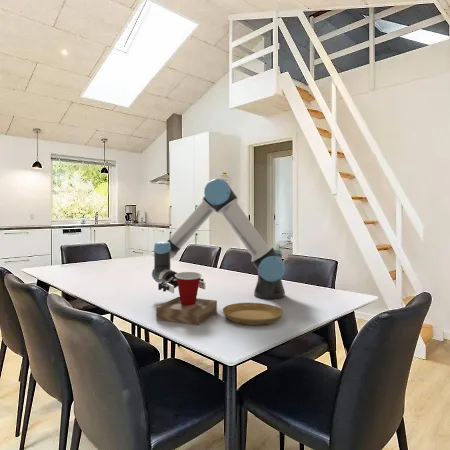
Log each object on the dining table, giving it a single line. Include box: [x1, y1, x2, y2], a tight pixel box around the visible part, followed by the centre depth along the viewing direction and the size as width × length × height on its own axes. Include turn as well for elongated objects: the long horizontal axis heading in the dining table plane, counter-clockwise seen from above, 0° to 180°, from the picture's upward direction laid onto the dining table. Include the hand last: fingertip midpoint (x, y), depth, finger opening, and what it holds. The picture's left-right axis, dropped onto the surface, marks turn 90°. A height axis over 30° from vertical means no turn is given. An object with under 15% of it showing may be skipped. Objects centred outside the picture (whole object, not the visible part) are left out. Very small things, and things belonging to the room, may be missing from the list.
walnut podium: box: [155, 296, 218, 326], centre depth 148 cm, size 18×18×5 cm
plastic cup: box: [175, 271, 202, 305], centre depth 147 cm, size 11×11×12 cm
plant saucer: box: [222, 302, 284, 326], centre depth 146 cm, size 24×24×3 cm
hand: (189, 287), depth 145 cm, fingers open, 13 cm apart
